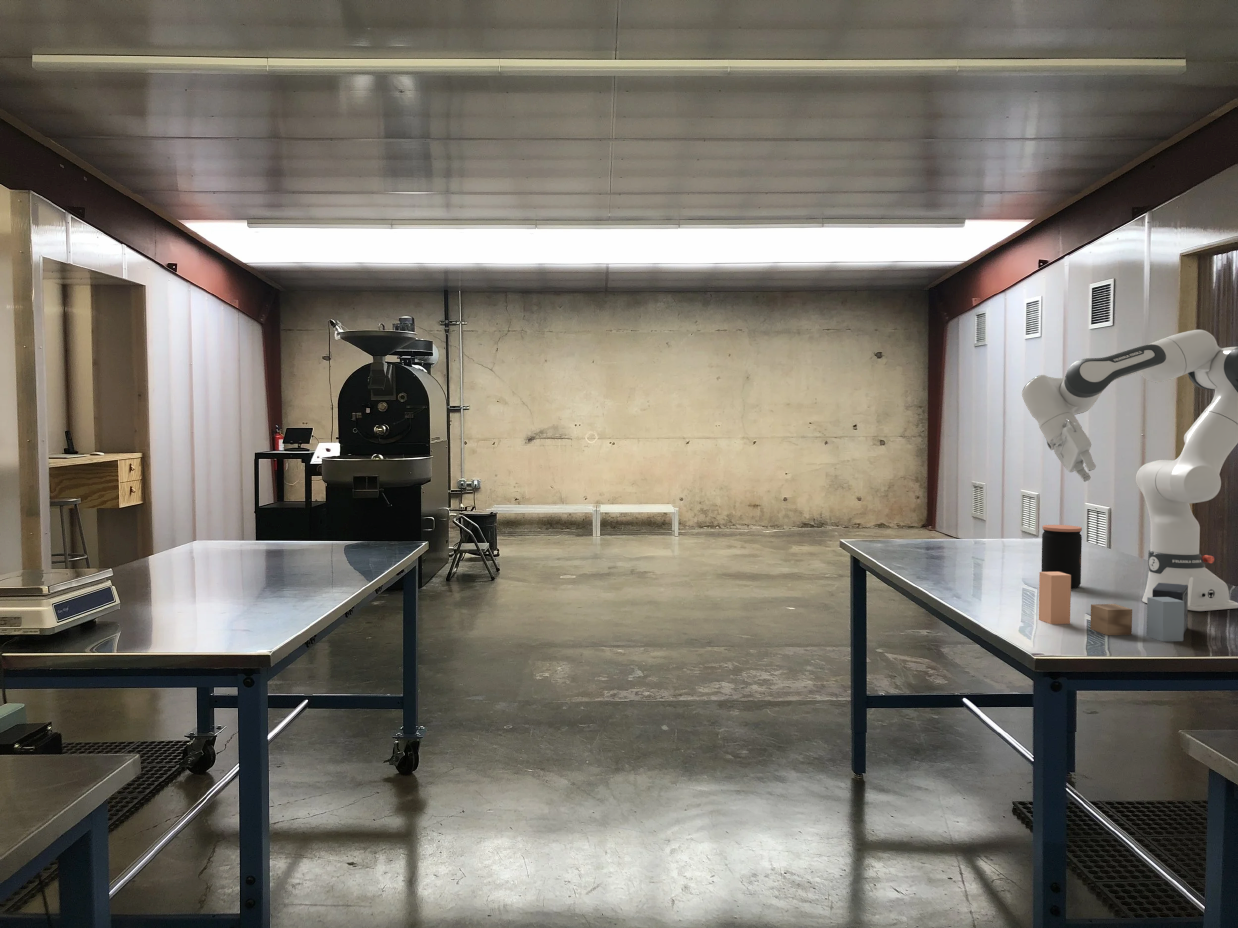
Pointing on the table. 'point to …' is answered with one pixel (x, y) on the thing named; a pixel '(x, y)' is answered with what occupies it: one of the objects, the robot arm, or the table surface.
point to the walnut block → (1111, 619)
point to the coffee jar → (1062, 551)
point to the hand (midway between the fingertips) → (1090, 474)
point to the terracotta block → (1054, 597)
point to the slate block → (1165, 618)
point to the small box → (1174, 596)
